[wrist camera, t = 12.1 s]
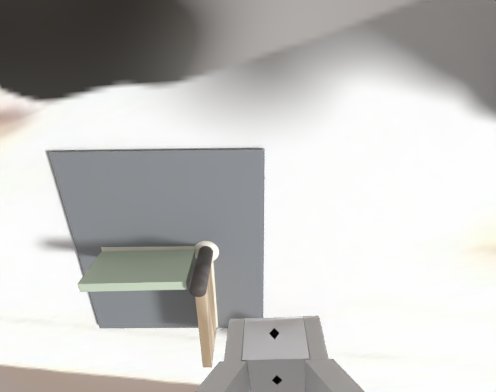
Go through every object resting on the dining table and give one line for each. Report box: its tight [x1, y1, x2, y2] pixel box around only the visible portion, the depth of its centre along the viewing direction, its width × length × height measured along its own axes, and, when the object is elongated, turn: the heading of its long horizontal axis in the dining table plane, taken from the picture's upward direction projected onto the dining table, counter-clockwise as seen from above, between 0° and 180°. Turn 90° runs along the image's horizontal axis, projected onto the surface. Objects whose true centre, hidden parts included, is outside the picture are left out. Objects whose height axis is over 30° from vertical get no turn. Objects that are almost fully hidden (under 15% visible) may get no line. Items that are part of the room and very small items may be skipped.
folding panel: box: [78, 250, 195, 292], centre depth 41 cm, size 13×1×6 cm, turn 92°
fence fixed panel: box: [189, 246, 216, 367], centre depth 43 cm, size 2×16×8 cm, turn 1°
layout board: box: [49, 149, 264, 328], centre depth 44 cm, size 26×29×1 cm
